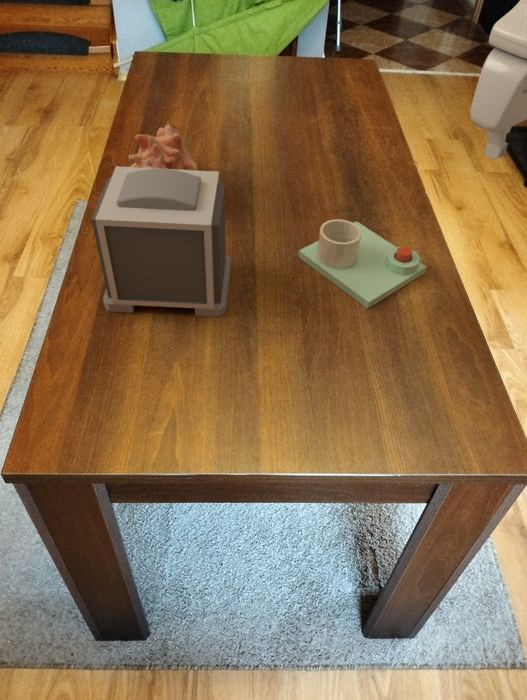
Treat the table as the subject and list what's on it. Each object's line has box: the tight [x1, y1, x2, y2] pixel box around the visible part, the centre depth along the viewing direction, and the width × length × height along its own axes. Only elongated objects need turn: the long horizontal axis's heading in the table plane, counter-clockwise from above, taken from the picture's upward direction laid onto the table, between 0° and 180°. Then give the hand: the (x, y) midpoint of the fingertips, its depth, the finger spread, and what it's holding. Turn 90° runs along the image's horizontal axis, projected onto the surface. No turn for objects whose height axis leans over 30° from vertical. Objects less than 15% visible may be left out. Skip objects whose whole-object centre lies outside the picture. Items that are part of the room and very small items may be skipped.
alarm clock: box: [91, 165, 232, 318], centre depth 84 cm, size 18×13×18 cm
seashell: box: [128, 123, 199, 171], centre depth 103 cm, size 22×13×15 cm
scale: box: [297, 221, 428, 309], centre depth 94 cm, size 16×14×3 cm
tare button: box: [395, 246, 413, 263], centre depth 92 cm, size 2×2×2 cm
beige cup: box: [317, 218, 361, 269], centre depth 93 cm, size 7×7×5 cm
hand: (515, 144), depth 69 cm, fingers open, 8 cm apart
